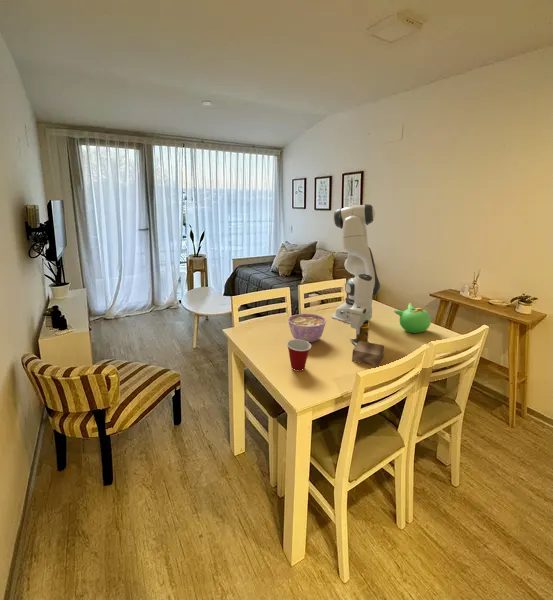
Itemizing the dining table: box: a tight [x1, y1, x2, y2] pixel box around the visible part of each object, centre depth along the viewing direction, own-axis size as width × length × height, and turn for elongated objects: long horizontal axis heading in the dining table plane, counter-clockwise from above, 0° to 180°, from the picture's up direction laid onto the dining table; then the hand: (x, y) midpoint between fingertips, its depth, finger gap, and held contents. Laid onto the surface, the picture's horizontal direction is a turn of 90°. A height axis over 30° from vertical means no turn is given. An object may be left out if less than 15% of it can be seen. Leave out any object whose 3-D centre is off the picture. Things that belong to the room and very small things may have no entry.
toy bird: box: [393, 302, 432, 334], centre depth 190 cm, size 18×17×15 cm
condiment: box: [349, 320, 370, 346], centre depth 174 cm, size 7×8×12 cm
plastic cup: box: [286, 338, 312, 370], centre depth 148 cm, size 11×11×12 cm
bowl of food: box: [287, 313, 327, 343], centre depth 178 cm, size 20×20×12 cm
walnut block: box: [351, 341, 385, 368], centre depth 158 cm, size 12×12×6 cm
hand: (360, 331), depth 175 cm, fingers closed on condiment, 6 cm apart
